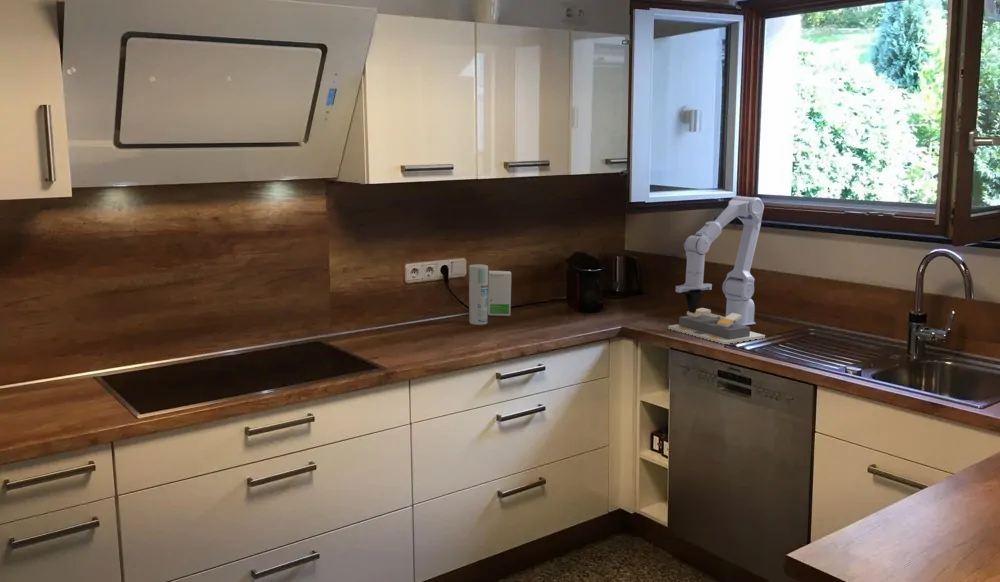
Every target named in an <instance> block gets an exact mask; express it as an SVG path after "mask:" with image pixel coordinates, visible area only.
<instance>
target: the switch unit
mask: <svg viewBox="0 0 1000 582" xmlns="http://www.w3.org/2000/svg"><path fill="white" fill-rule="evenodd" d="M720 320H721V319H717V318H713V317H709V316H705V315H701V316H697V317H694V316H690V315H685V316H679V319H678V324H673V325H667V328H668V330H670V329H671V330H670V331H674V330H675V332H679V333H681V332H682V333H681V334H685V333H686V334H685V335H688V334H689V336H692V335H693V337H695V336H696V338H699V337H700V338H699V339H702V338H704V339H703V340H706V339H707V341H709V340H711V341H710V342H713V341H715V342H714V343H716V342H718V343H717V344H720V343H722V344H721V345H724V344H728V345H731V344H730V343H733V344H738V343H737V342H739V343H744V342H743V341H745V342H750V341H749V340H751V341H756V340H755V339H757V340H763V339H766V335H765V334H762V333H757V332H754V331H751V327H750V326H749V325H745V326H744V325H740V324H736V323H733V324H732V325H730V326H729V327H723V326H719V325H718V324H717V322H718V321H720ZM762 338H763V339H762Z"/></svg>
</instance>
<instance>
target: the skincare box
mask: <svg viewBox="0 0 1000 582" xmlns="http://www.w3.org/2000/svg"><path fill="white" fill-rule="evenodd" d="M511 296H512V272H511V271H505V270H488V310H487V316H496V317H497V316H499V317H501V316H503V317H506V316H507V317H511V306H512V305H511V303H512V302H511V301H512V300H511V299H512V297H511Z"/></svg>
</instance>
